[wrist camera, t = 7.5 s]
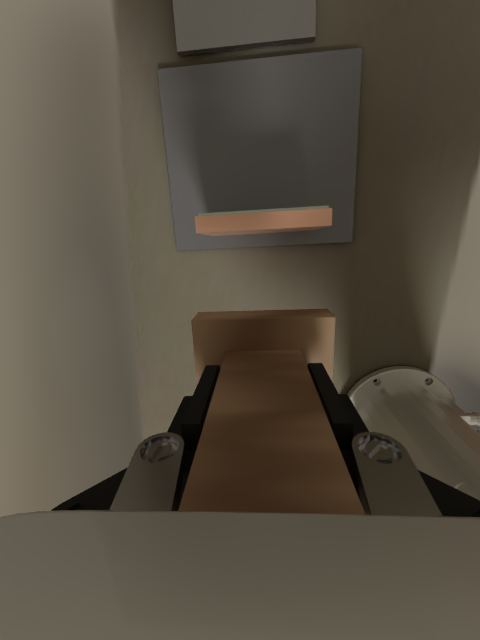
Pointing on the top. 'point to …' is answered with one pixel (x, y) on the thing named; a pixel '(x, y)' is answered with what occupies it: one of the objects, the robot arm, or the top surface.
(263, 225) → the tile
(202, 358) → the wooden block
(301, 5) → the plate
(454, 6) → the top surface
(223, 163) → the mat
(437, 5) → the top surface
